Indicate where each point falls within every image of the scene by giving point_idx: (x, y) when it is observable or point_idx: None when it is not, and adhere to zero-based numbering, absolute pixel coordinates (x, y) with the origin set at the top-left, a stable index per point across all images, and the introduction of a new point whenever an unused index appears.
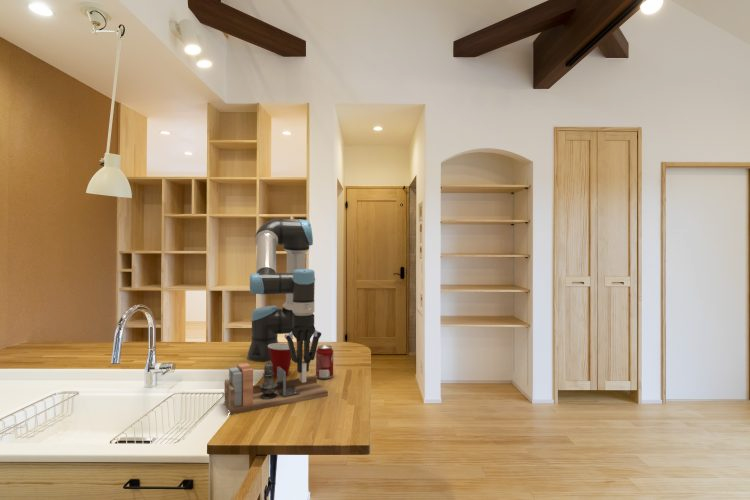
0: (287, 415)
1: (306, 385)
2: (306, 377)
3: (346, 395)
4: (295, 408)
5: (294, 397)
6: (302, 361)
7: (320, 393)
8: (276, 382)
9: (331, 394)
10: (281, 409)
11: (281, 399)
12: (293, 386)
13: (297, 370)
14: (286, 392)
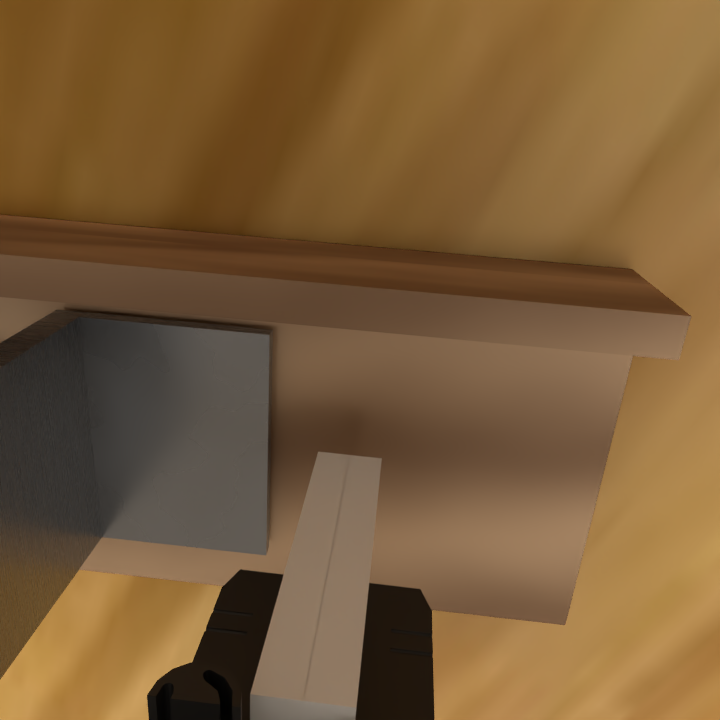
0: (80, 715)
1: (463, 341)
2: (497, 334)
3: (706, 674)
4: (170, 654)
5: (191, 578)
6: (320, 706)
7: (476, 609)
8: (8, 288)
9: (607, 583)
10: (60, 613)
11: None
12: (266, 354)
13: (221, 604)
14: (127, 485)
